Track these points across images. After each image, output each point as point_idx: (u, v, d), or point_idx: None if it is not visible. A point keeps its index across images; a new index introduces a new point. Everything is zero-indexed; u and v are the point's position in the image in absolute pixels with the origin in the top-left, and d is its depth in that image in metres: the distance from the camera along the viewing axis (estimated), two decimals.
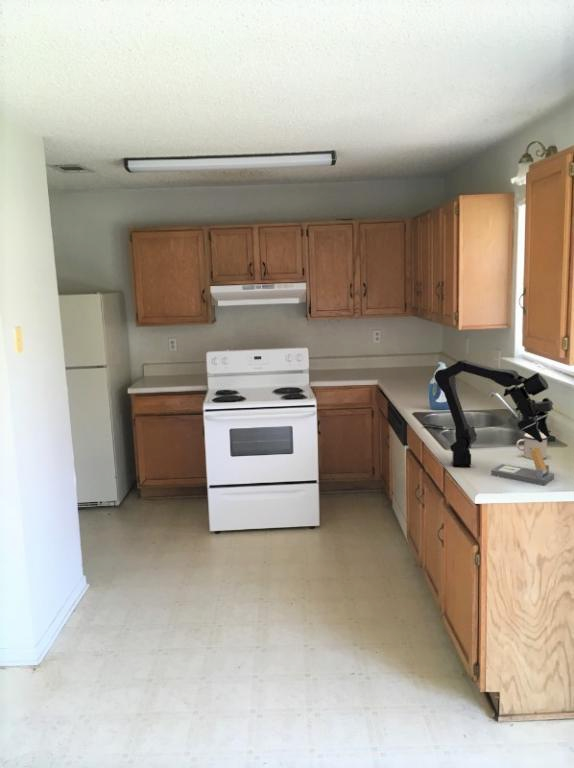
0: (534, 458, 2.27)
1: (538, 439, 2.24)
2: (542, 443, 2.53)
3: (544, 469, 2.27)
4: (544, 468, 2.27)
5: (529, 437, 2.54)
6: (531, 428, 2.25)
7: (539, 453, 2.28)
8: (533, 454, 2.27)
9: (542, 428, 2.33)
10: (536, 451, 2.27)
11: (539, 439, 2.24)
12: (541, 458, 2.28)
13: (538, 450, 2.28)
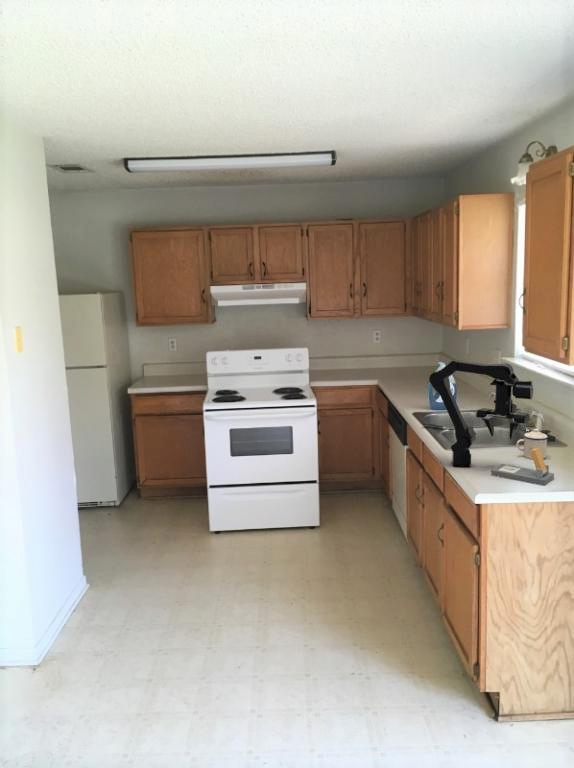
0: (534, 458, 2.27)
1: (512, 436, 2.36)
2: (542, 443, 2.53)
3: (544, 469, 2.27)
4: (544, 468, 2.27)
5: (529, 437, 2.54)
6: None
7: (539, 453, 2.28)
8: (533, 454, 2.27)
9: (491, 427, 2.41)
10: (536, 451, 2.27)
11: (512, 436, 2.36)
12: (541, 458, 2.28)
13: (538, 450, 2.28)
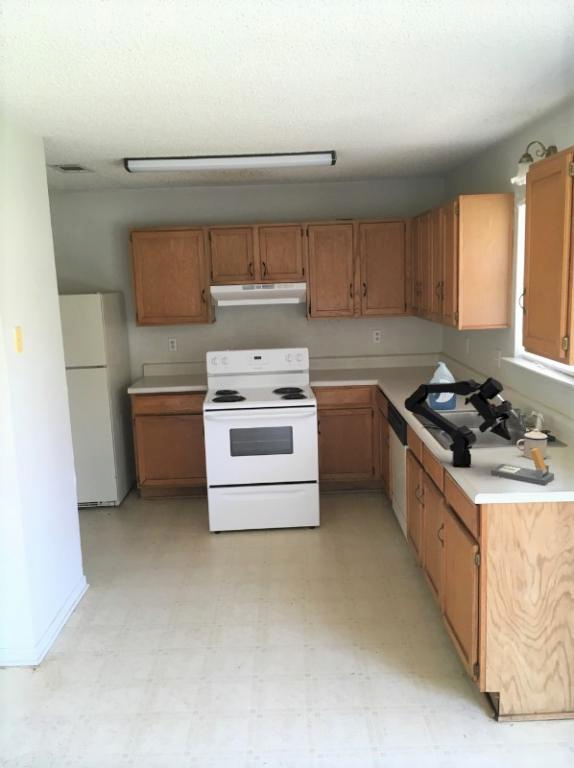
0: (534, 458, 2.27)
1: (506, 437, 2.34)
2: (542, 443, 2.53)
3: (544, 469, 2.27)
4: (544, 468, 2.27)
5: (529, 437, 2.54)
6: (498, 428, 2.35)
7: (539, 453, 2.28)
8: (533, 454, 2.27)
9: None
10: (536, 451, 2.27)
11: (507, 437, 2.34)
12: (541, 458, 2.28)
13: (538, 450, 2.28)
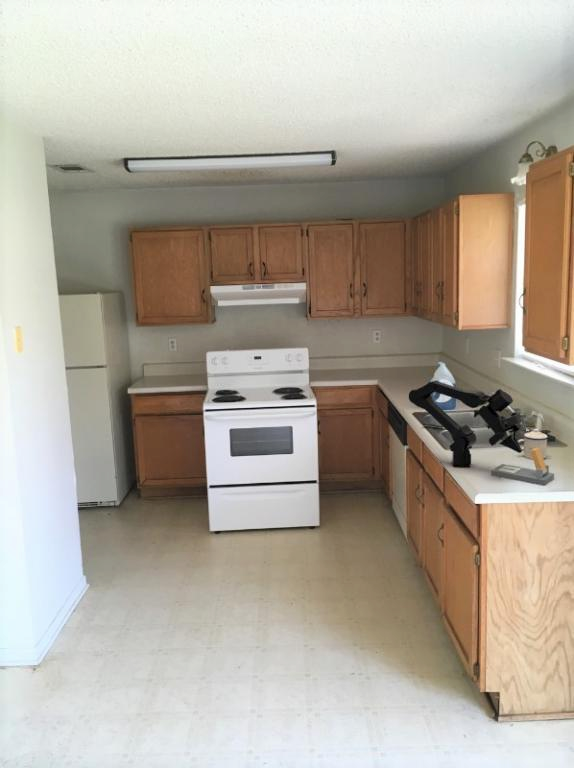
0: (534, 458, 2.27)
1: (517, 450, 2.32)
2: (542, 443, 2.53)
3: (544, 469, 2.27)
4: (544, 468, 2.27)
5: (529, 437, 2.54)
6: (508, 440, 2.33)
7: (539, 453, 2.28)
8: (533, 454, 2.27)
9: None
10: (536, 451, 2.27)
11: (518, 450, 2.32)
12: (541, 458, 2.28)
13: (538, 450, 2.28)
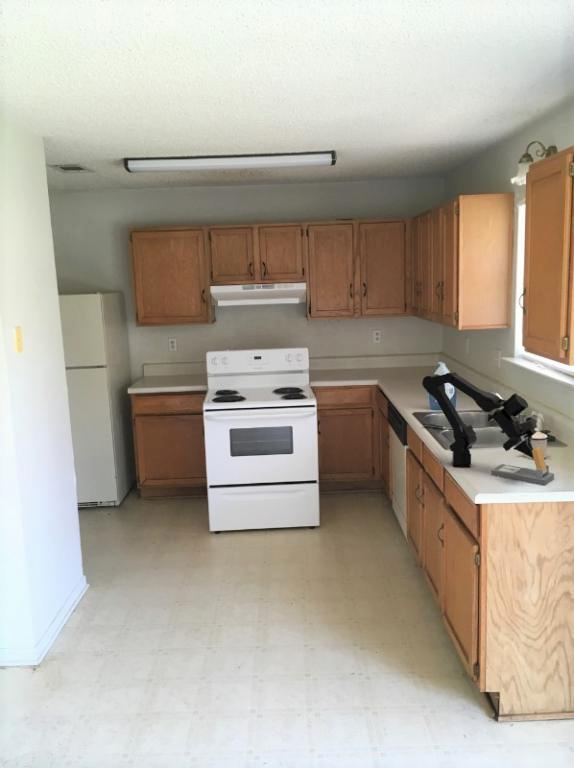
0: (535, 458, 2.26)
1: (531, 455, 2.29)
2: (542, 443, 2.53)
3: (544, 469, 2.27)
4: (544, 468, 2.27)
5: None
6: (522, 446, 2.30)
7: (541, 453, 2.28)
8: (535, 454, 2.26)
9: None
10: (538, 451, 2.26)
11: (532, 455, 2.29)
12: (542, 458, 2.28)
13: (540, 450, 2.28)
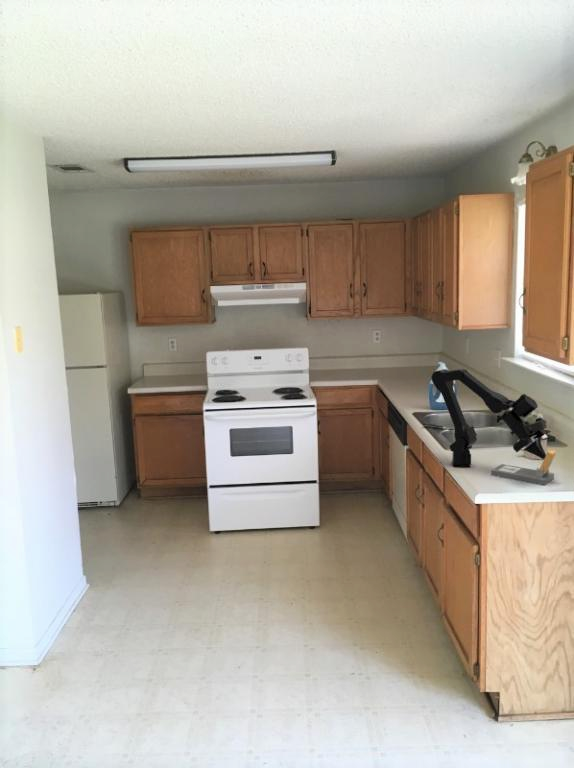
0: (546, 459, 2.24)
1: (542, 456, 2.26)
2: (542, 443, 2.53)
3: (545, 471, 2.27)
4: (546, 470, 2.27)
5: None
6: (532, 447, 2.27)
7: (553, 457, 2.25)
8: (548, 456, 2.23)
9: None
10: (552, 455, 2.23)
11: (543, 456, 2.26)
12: (551, 461, 2.26)
13: (554, 454, 2.25)
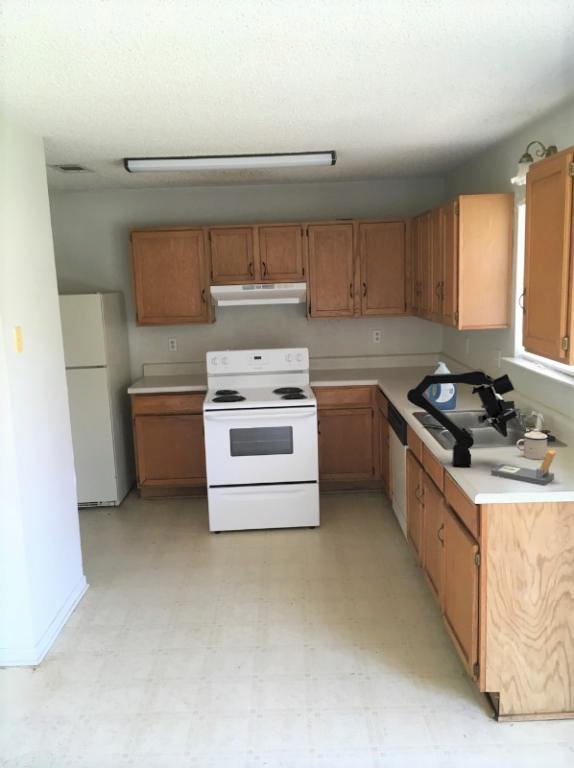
0: (546, 459, 2.24)
1: (504, 433, 2.41)
2: (542, 443, 2.53)
3: (545, 471, 2.27)
4: (546, 470, 2.27)
5: (529, 437, 2.54)
6: (500, 423, 2.40)
7: (553, 457, 2.25)
8: (548, 456, 2.23)
9: None
10: (552, 455, 2.23)
11: (505, 433, 2.41)
12: (551, 461, 2.26)
13: (554, 454, 2.25)
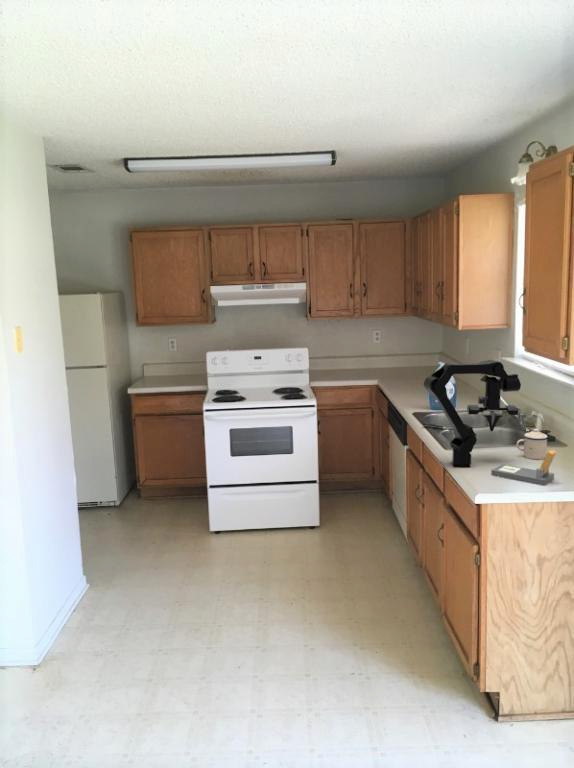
0: (546, 459, 2.24)
1: None
2: (542, 443, 2.53)
3: (545, 471, 2.27)
4: (546, 470, 2.27)
5: (529, 437, 2.54)
6: None
7: (553, 457, 2.25)
8: (548, 456, 2.23)
9: None
10: (552, 455, 2.23)
11: None
12: (551, 461, 2.26)
13: (554, 454, 2.25)
